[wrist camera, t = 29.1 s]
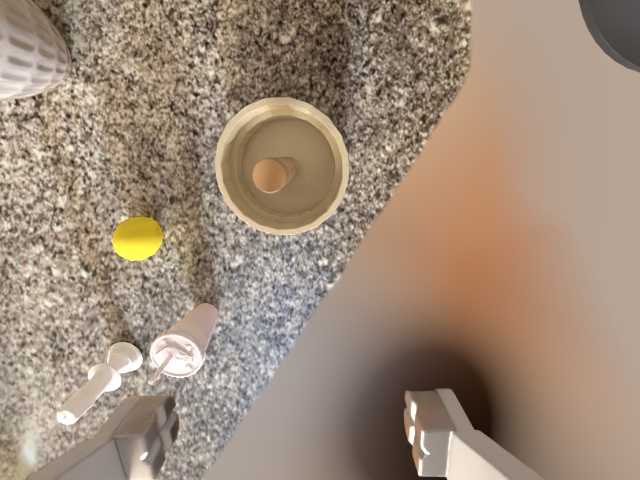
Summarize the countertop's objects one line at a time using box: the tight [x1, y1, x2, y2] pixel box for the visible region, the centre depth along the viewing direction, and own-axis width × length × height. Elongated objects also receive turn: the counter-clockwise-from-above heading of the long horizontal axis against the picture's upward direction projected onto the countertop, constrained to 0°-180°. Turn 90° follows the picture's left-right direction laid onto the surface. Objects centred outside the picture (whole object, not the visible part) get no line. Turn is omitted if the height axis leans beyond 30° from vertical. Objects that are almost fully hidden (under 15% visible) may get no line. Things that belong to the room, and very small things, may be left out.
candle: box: [56, 342, 142, 424], centre depth 41 cm, size 5×5×12 cm
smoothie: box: [148, 303, 219, 385], centre depth 38 cm, size 6×6×14 cm
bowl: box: [214, 97, 349, 235], centre depth 35 cm, size 14×14×7 cm
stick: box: [252, 157, 299, 193], centre depth 31 cm, size 3×3×14 cm
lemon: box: [112, 216, 163, 260], centre depth 38 cm, size 7×5×5 cm
